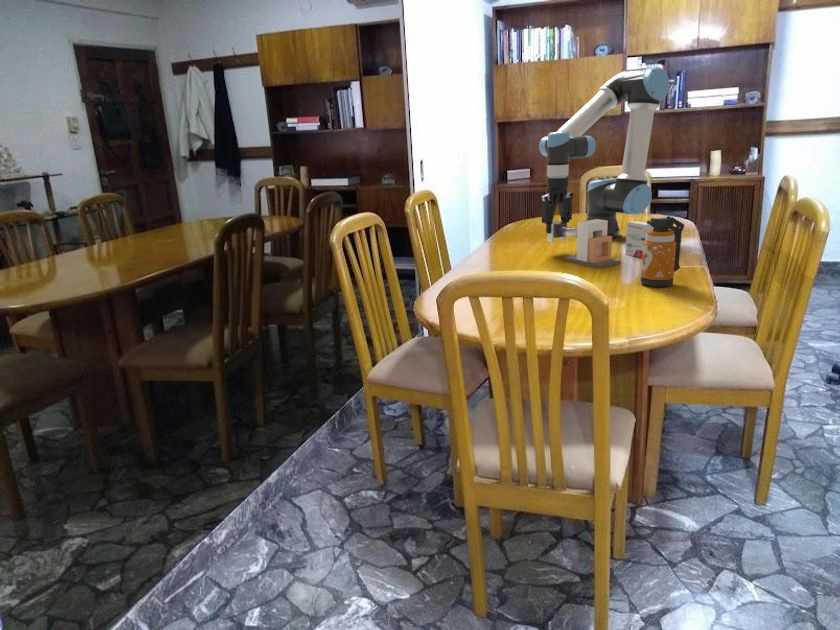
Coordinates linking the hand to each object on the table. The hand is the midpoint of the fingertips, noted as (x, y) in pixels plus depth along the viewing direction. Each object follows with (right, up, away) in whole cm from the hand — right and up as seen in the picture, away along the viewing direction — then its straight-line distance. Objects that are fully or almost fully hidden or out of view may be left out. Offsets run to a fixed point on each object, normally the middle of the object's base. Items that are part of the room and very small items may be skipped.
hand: (556, 240), depth 228 cm
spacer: (+11, -5, -18) cm, 22 cm away
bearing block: (+9, -9, -13) cm, 19 cm away
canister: (+21, -18, -45) cm, 53 cm away
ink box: (+28, -6, -8) cm, 29 cm away
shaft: (+4, 0, -7) cm, 8 cm away
